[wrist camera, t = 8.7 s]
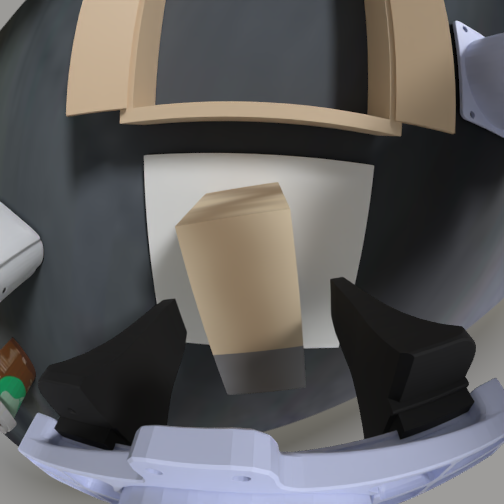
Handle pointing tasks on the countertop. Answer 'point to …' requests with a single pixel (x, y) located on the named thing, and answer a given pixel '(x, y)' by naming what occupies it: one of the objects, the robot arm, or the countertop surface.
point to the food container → (13, 382)
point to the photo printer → (17, 251)
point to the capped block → (247, 286)
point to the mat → (302, 215)
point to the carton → (375, 122)
